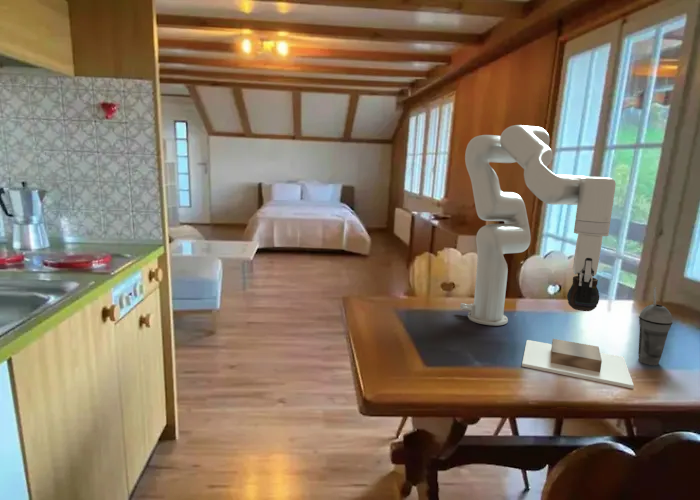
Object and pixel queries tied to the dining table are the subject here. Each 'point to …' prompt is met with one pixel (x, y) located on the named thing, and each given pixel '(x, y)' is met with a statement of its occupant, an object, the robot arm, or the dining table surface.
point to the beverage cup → (653, 332)
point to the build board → (610, 372)
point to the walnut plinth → (576, 355)
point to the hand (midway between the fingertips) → (582, 297)
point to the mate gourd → (580, 305)
